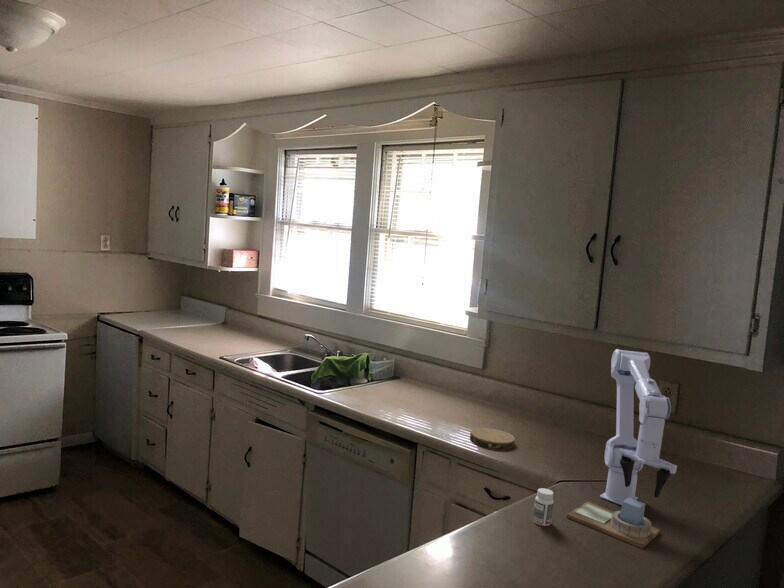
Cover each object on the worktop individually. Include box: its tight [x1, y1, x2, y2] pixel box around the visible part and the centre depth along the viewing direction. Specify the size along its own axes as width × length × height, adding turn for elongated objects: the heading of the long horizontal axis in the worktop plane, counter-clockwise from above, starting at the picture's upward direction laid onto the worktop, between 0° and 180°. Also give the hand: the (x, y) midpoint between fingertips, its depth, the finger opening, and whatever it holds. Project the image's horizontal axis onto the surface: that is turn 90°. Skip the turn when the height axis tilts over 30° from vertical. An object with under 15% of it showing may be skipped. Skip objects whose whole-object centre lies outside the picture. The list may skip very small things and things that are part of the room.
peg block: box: [620, 497, 646, 526], centre depth 157 cm, size 4×4×7 cm
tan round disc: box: [469, 427, 516, 451], centre depth 219 cm, size 16×16×3 cm
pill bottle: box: [532, 487, 555, 527], centre depth 158 cm, size 5×5×8 cm
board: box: [566, 501, 661, 549], centre depth 161 cm, size 13×20×4 cm, turn 48°
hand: (642, 490), depth 161 cm, fingers open, 7 cm apart
